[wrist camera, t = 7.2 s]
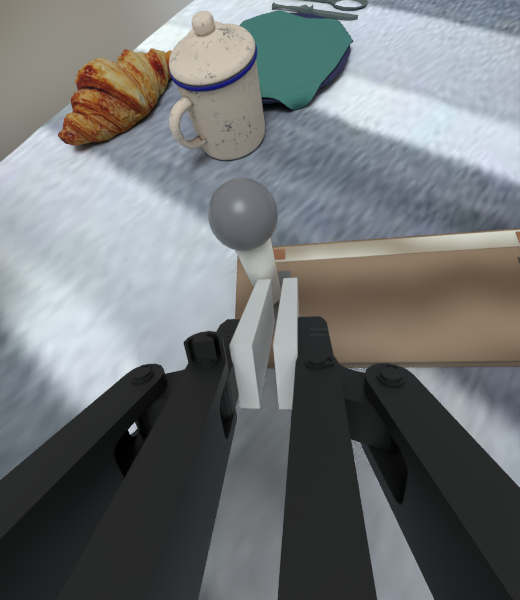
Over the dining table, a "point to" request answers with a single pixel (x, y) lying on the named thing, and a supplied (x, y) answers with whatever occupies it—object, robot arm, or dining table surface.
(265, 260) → the lever
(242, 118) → the teacup with lid
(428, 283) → the switch box
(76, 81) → the croissant
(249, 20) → the cutlery set
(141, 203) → the dining table surface
